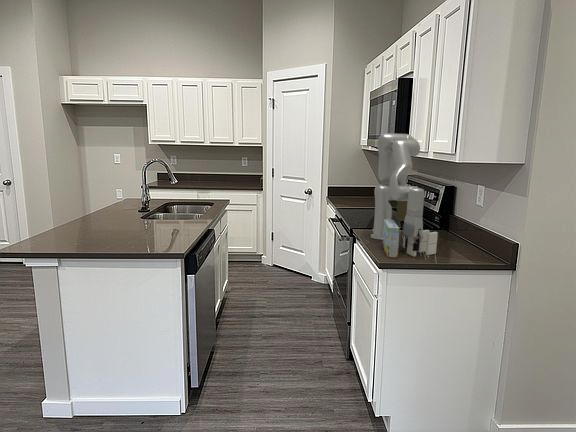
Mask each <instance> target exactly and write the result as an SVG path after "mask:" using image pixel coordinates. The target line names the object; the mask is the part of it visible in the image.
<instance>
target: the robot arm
mask: <svg viewBox="0 0 576 432" xmlns="http://www.w3.org/2000/svg"><path fill="white" fill-rule="evenodd" d="M376 146H377V147H376V148H377V153H378V171H377V176H378V179H379V180H380V181H382V182H389V183H379V184H376V186H375V188H374V205H375V206H374V219H373V220H374V221H373V228H372V229H371V231H372V232H373V233H371V234H370V238H372V239H375V240H380V241H383V223H384V219H391V220H392V215H393V207H392V205H391V204H390V201H396V202H397V201H408V203H407V215H406V217H405V220H404V221H403V227H402V230H403V231H402V233H403V237H404V236H405V249H407V242H408V236H410V237H413V238H414V243H413V251H416V252H418V251H419V243H420V242H421V241H422V239H423V238H424V237H423V235H422V232H423V230H424V228H423V227H424V221H423V214H424V201H425V194H426V193H425V190H424V189H423V188H420V187H418V186H415V185H407V174H408V172H409V171H411V170H412V169H413V162H412V157H417V156H418V155H419V154H420V152H421V146H420V143H419V141H418V140H417V139H416V138H415V137H413V136H411V134H408V133H391V132H388V133H381V134H380V135H379V136H378V138H377V144H376ZM417 235H418V237H416V236H417ZM416 238H418V239H417V240H416Z"/></svg>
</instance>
